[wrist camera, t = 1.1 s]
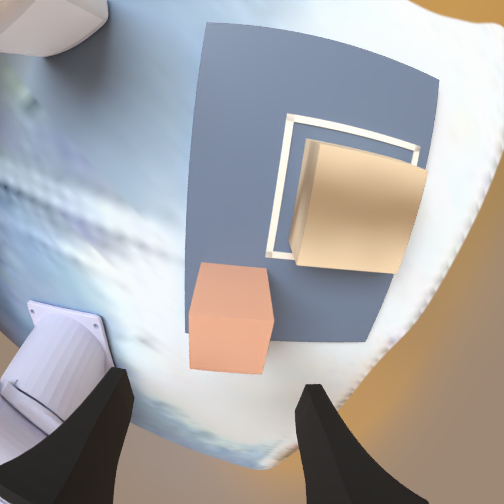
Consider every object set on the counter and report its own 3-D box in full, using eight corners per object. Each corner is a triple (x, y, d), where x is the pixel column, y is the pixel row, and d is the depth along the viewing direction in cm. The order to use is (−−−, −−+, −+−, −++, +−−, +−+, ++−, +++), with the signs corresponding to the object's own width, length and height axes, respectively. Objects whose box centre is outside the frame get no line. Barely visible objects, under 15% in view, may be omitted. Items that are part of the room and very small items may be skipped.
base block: (377, 250, 18) (397, 273, 15) (288, 240, 17) (296, 265, 14) (400, 160, 15) (428, 170, 12) (305, 138, 14) (320, 143, 12)
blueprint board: (362, 335, 22) (365, 342, 21) (187, 326, 21) (185, 334, 20) (432, 80, 13) (440, 80, 12) (208, 26, 12) (206, 21, 11)
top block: (257, 318, 20) (261, 374, 15) (199, 313, 19) (189, 368, 15) (266, 268, 18) (274, 320, 13) (201, 262, 18) (188, 313, 13)
